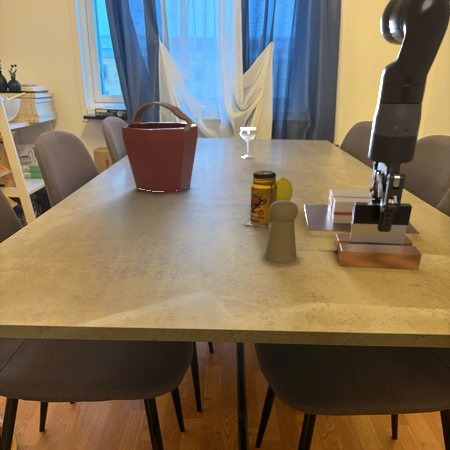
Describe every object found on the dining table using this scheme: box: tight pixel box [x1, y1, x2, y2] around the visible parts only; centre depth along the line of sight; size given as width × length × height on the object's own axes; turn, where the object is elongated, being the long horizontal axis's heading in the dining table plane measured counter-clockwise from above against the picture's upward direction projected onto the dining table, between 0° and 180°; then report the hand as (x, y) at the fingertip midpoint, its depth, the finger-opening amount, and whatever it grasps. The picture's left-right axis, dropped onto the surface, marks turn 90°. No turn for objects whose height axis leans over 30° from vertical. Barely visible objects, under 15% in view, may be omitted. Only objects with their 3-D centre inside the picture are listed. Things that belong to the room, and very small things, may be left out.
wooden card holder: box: [334, 233, 422, 271], centre depth 83 cm, size 14×10×3 cm
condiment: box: [244, 170, 277, 228], centre depth 102 cm, size 7×8×12 cm
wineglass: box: [239, 126, 257, 159], centre depth 188 cm, size 7×7×12 cm
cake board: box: [303, 204, 420, 235], centre depth 105 cm, size 24×22×1 cm
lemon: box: [276, 176, 294, 201], centre depth 116 cm, size 6×6×8 cm
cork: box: [264, 200, 299, 265], centre depth 82 cm, size 6×6×11 cm
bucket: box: [121, 101, 199, 195], centre depth 132 cm, size 24×22×25 cm
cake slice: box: [331, 198, 390, 223], centre depth 101 cm, size 12×4×5 cm, turn 83°
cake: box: [327, 188, 373, 216], centre depth 107 cm, size 12×7×5 cm, turn 83°
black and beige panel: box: [349, 202, 413, 246], centre depth 82 cm, size 10×2×11 cm, turn 83°
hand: (379, 224), depth 81 cm, fingers open, 8 cm apart
